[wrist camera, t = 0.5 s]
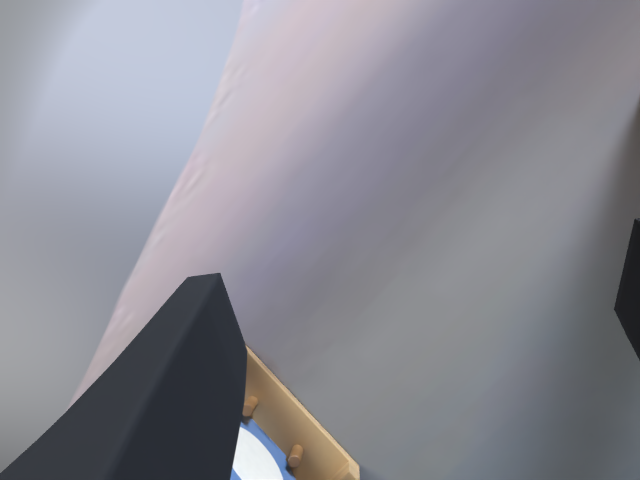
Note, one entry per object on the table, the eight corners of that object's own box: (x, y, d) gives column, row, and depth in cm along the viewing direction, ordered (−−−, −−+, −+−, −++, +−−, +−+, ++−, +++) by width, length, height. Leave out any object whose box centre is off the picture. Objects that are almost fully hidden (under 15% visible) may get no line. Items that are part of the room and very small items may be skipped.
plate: (296, 492, 33) (276, 576, 25) (211, 400, 34) (163, 451, 25) (309, 480, 33) (294, 560, 25) (224, 387, 34) (180, 435, 25)
